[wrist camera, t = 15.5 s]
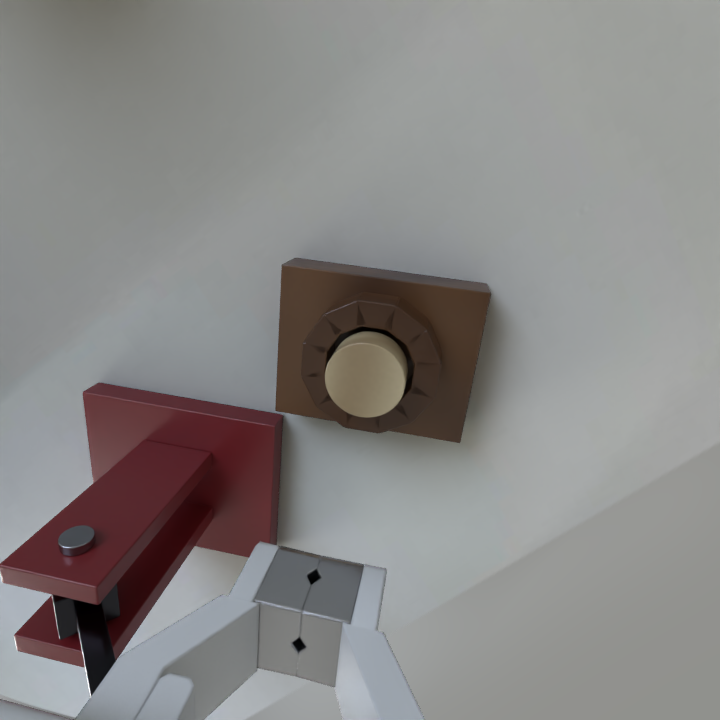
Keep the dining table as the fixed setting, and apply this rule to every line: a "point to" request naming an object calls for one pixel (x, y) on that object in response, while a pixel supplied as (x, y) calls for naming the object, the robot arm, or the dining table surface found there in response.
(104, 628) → the lever
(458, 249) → the dining table surface
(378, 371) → the button
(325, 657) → the robot arm
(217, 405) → the bracket
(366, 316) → the control block
